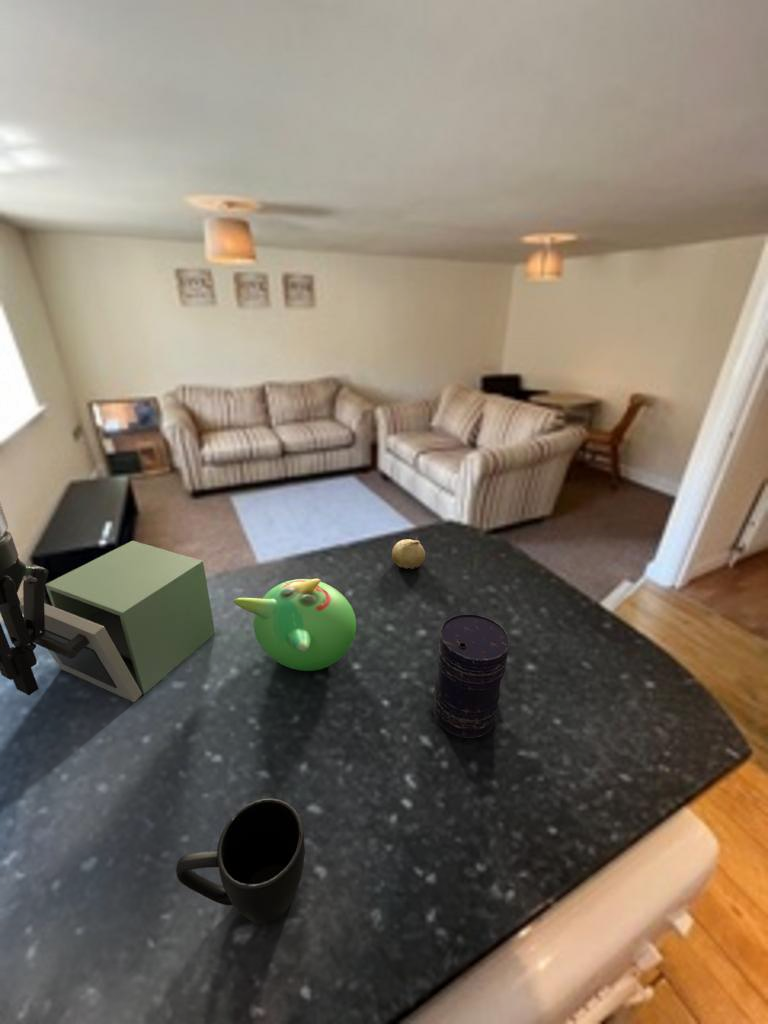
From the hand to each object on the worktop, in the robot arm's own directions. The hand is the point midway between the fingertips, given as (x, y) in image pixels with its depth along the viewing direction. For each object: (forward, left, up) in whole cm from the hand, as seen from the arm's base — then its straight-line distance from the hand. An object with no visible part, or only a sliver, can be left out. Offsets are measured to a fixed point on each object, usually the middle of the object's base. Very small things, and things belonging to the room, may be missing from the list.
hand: (27, 688), depth 62 cm
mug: (+41, -5, -8) cm, 42 cm away
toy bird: (+27, +28, -8) cm, 40 cm away
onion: (+33, +65, -8) cm, 73 cm away
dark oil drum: (+56, +28, -8) cm, 63 cm away
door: (0, +8, -7) cm, 11 cm away
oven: (0, +18, -7) cm, 20 cm away
